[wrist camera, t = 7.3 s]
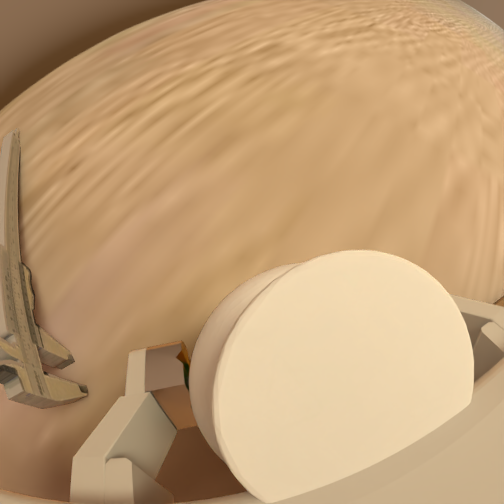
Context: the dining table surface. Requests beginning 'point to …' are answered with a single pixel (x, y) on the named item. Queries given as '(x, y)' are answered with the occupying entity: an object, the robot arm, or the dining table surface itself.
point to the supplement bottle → (327, 369)
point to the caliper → (24, 309)
